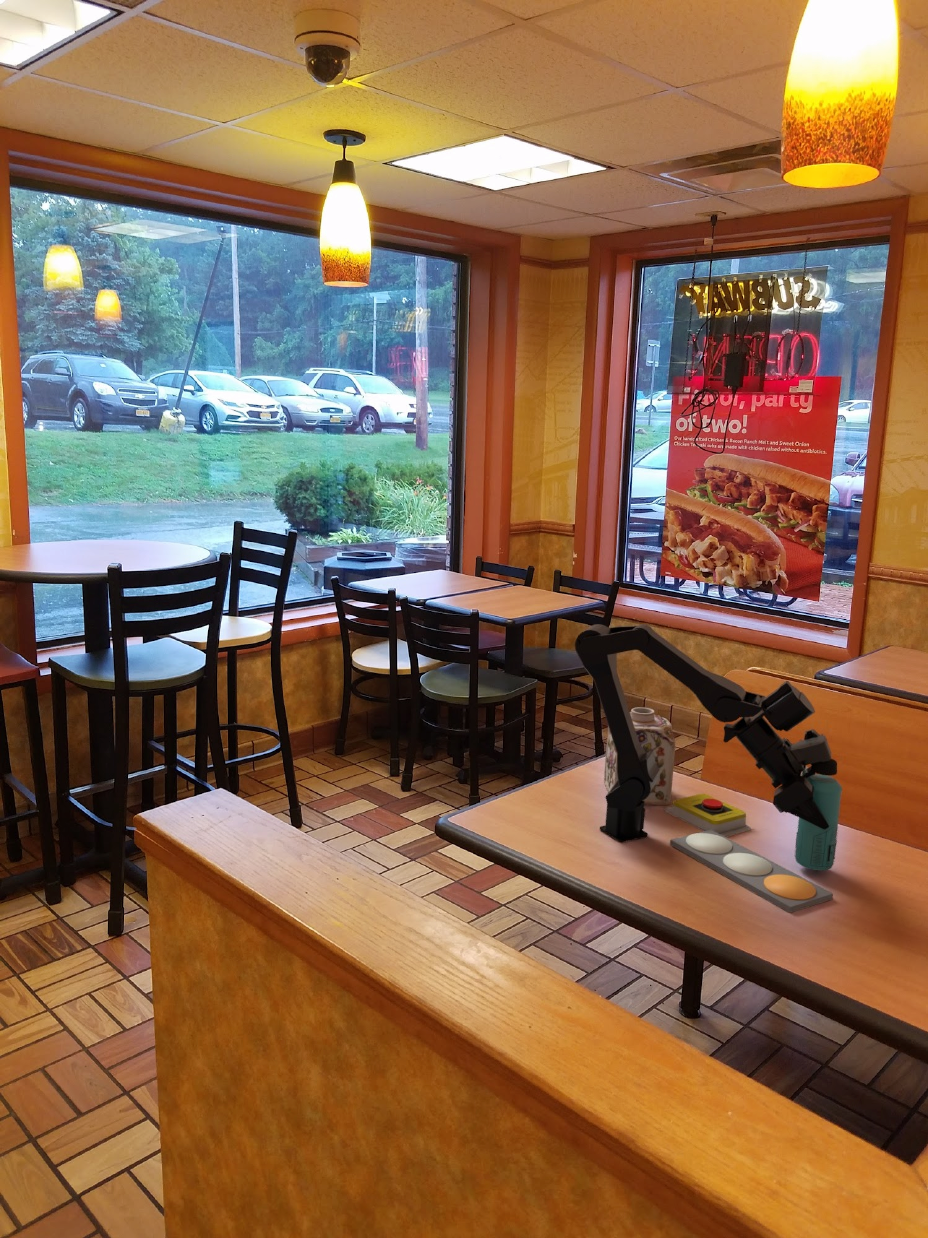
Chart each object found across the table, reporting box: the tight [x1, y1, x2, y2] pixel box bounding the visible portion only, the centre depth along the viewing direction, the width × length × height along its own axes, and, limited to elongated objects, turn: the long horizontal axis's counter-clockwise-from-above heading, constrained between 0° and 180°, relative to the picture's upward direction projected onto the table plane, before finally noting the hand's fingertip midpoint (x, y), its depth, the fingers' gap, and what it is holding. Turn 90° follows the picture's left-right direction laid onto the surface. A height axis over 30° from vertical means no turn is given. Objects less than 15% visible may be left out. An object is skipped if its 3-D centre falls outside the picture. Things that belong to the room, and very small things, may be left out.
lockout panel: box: [669, 830, 834, 914], centre depth 159 cm, size 10×27×1 cm, turn 30°
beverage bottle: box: [794, 758, 843, 871], centre depth 159 cm, size 6×7×20 cm
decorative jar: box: [603, 706, 676, 806], centre depth 190 cm, size 12×12×18 cm
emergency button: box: [663, 793, 752, 838], centre depth 180 cm, size 9×4×15 cm
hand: (827, 819), depth 158 cm, fingers open, 8 cm apart
